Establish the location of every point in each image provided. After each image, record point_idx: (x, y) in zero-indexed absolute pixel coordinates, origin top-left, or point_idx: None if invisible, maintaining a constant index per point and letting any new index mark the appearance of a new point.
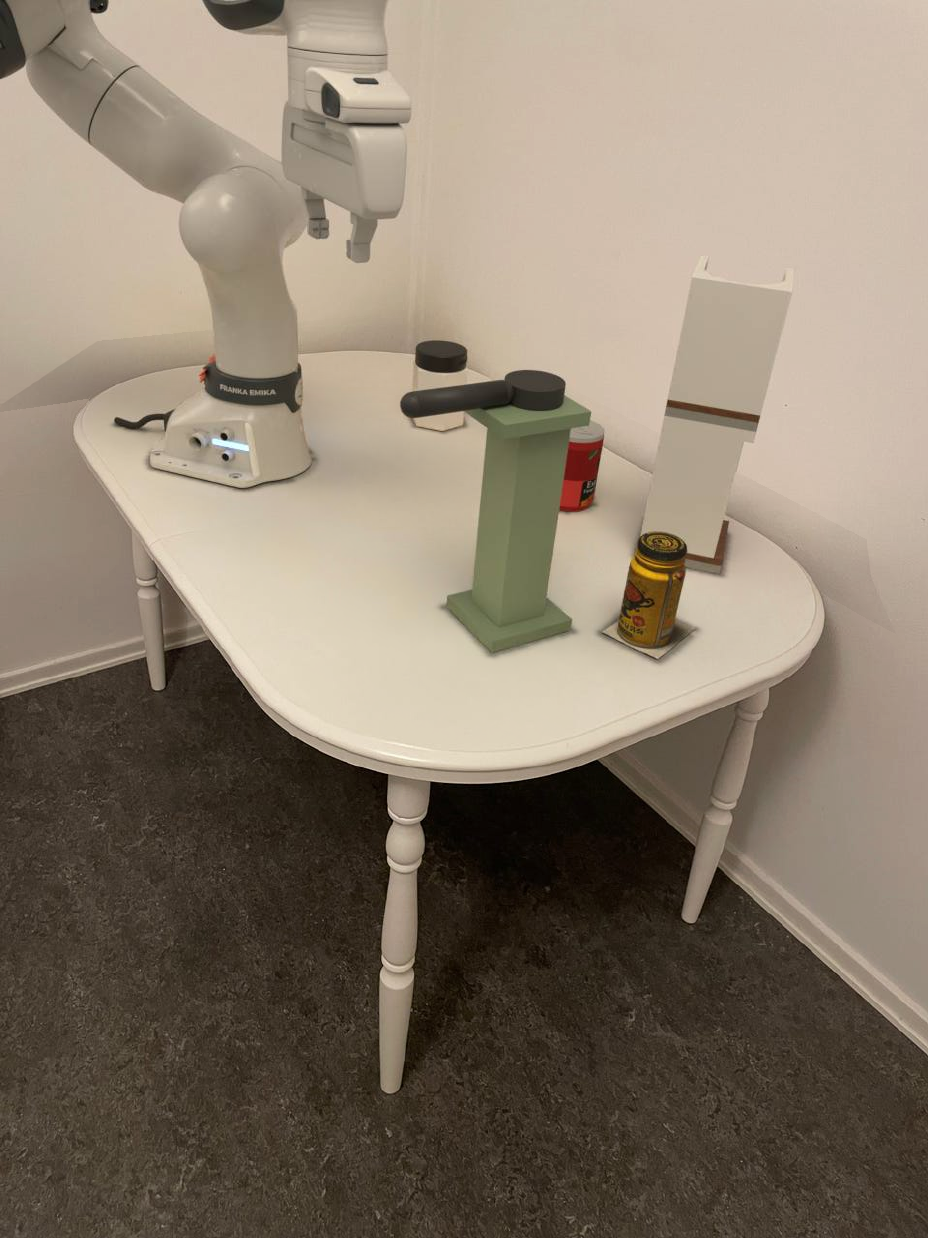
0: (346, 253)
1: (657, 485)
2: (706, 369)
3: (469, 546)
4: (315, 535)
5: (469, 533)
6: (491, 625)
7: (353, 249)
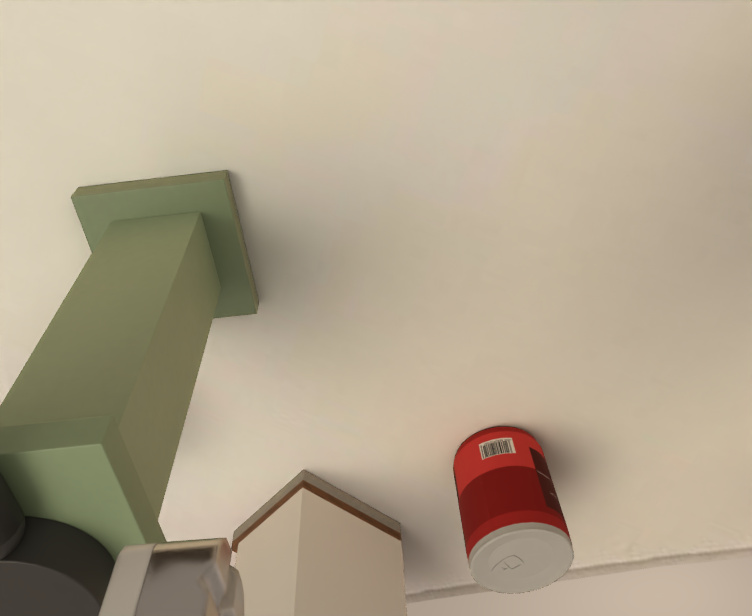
0: (211, 553)
1: (290, 576)
2: None
3: (407, 276)
4: (553, 16)
5: (449, 292)
6: (118, 213)
7: (102, 610)
